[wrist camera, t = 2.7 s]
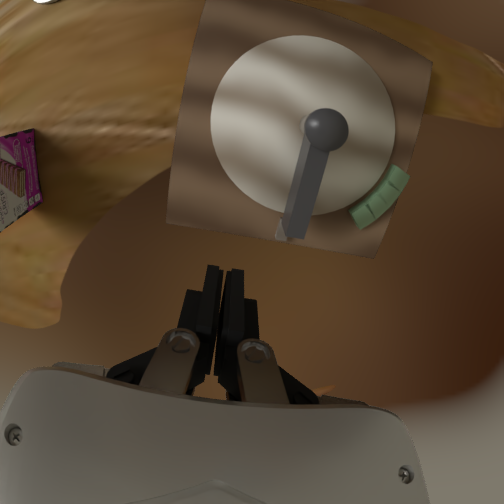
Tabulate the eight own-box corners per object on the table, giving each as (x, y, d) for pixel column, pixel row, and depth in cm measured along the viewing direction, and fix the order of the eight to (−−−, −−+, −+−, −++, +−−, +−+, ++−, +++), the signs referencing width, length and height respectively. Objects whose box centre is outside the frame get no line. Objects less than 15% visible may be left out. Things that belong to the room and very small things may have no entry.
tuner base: (211, -3, 19) (208, -16, 16) (421, 63, 22) (438, 61, 19) (170, 215, 32) (163, 227, 29) (366, 249, 35) (377, 263, 32)
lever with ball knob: (297, 103, 23) (311, 102, 18) (332, 114, 24) (353, 116, 19) (270, 215, 29) (276, 238, 24) (302, 221, 29) (314, 245, 25)
